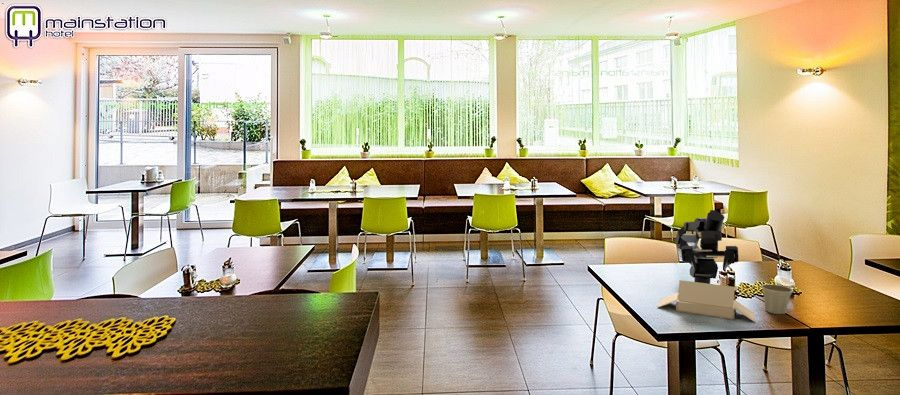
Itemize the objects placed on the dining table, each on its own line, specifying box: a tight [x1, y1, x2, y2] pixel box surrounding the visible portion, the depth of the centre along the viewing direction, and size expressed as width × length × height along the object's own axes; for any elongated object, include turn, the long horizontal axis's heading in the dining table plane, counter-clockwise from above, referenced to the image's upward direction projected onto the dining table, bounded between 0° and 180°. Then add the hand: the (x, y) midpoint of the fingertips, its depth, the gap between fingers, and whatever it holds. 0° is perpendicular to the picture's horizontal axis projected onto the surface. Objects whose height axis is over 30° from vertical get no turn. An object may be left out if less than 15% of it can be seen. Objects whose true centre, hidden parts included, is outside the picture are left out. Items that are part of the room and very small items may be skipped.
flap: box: [677, 280, 736, 308], centre depth 179 cm, size 1×17×7 cm, turn 64°
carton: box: [657, 292, 756, 323], centre depth 186 cm, size 16×30×4 cm, turn 62°
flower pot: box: [761, 284, 794, 315], centre depth 184 cm, size 9×9×9 cm
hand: (709, 269), depth 187 cm, fingers open, 9 cm apart
